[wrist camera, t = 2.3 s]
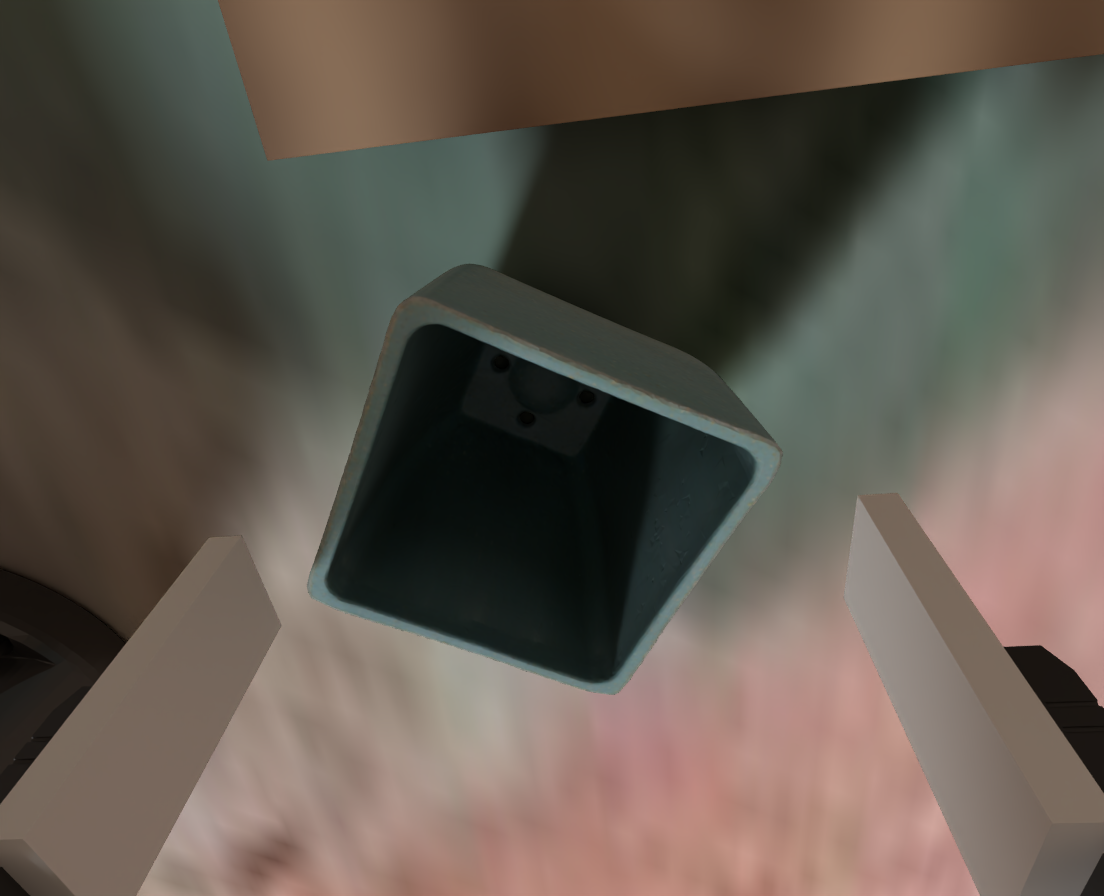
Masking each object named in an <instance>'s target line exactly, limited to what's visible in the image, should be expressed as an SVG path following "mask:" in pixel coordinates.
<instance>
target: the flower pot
mask: <svg viewBox="0 0 1104 896" xmlns="http://www.w3.org/2000/svg"><path fill="white" fill-rule="evenodd" d="M498 356H504V357H506V358H507V359H508V361H509V364H508V367H507V368H505V369H499V368H497V367H496V366H495V364H494V361H495V358H497V357H498ZM583 391H590V392H592V393H593V394H594V399H593V401H592V402H590V403H583V402H581V400H580V399H579V395H580V393H581V392H583ZM523 412H530V413H532V414H533V415H534V421H533V422H532V423H530V424H525V423H523V422H521V420H520V418H519V416H520V414H521V413H523ZM782 456H783V451H782V450H781V448H780V447H779V446H778V445H777V443H776V442H775V441H774V439H773V438H772V437H771V436H770V435H769V434H768V432H767V431H766V430H765V429H764V427H763V426H762V425H761V424H760V423H759V421H758V420H757V419H756V418H755V417H754V416H753V414H752V413H751V412H750V411H749V410H748V409H747V407H746V406H745V405H744V404H743V403H742V401H741V400H740V399H739V398H738V397H737V396H736V394H735V393H734V392H733V391H732V390H731V389H730V388H729V386H728V385H727V384H726V383H725V382H724V381H723V380H722V379H721V378H720V377H719V376H718V375H717V374H716V373H715V372H714V371H713V370H712V369H711V368H709V367H708V366H707V365H705V364H704V363H702V362H701V361H699V360H698V359H696V358H695V357H693V356H691V355H689V354H687V353H685V352H683V351H681V350H679V349H677V348H675V347H672V346H670V345H667V344H665V343H662V342H660V341H658V340H655V339H653V338H650V337H648V336H645V335H643V334H641V333H638V332H636V331H633V330H631V329H629V328H626V327H624V326H622V325H619V324H617V323H614V322H612V321H610V320H607V319H605V318H603V317H600V316H598V315H596V314H593V313H591V312H589V311H586V310H584V309H582V308H579V307H577V306H575V305H572V304H570V303H568V302H566V301H563V300H561V299H559V298H556V297H554V296H552V295H550V294H547V293H545V292H543V291H540V290H538V289H536V288H533V287H531V286H529V285H527V284H524V283H522V282H520V281H518V280H515V279H513V278H511V277H509V276H506V275H504V274H502V273H500V272H498V271H495V270H493V269H491V268H488V267H484V266H481V265H475V264H464V265H460V266H457V267H454V268H452V269H450V270H448V271H447V272H445V273H443V274H442V275H440V276H439V277H438V278H436V279H435V280H433V281H432V282H430V283H429V284H427V285H426V286H424V287H423V288H422V289H420V290H419V291H417V292H416V293H414V294H413V295H411V296H410V297H409V298H407V299H406V300H404V301H403V302H402V303H401V304H399V306H398V307H397V308H396V310H395V312H394V314H393V316H392V318H391V320H390V323H389V326H388V329H387V332H386V336H385V340H384V344H383V348H382V351H381V353H380V356H379V360H378V363H377V367H376V370H375V374H374V377H373V380H372V383H371V386H370V388H369V394H368V397H367V400H366V403H365V405H364V409H363V412H362V416H361V419H360V423H359V426H358V428H357V431H356V434H355V438H354V441H353V445H352V448H351V452H350V454H349V457H348V461H347V463H346V466H345V469H344V473H343V476H342V478H341V481H340V485H339V488H338V491H337V495H336V498H335V501H334V504H333V506H332V510H331V512H330V516H329V519H328V522H327V525H326V528H325V531H324V534H323V538H322V540H321V543H320V546H319V549H318V552H317V554H316V557H315V561H314V564H313V566H312V569H311V571H310V575H309V579H308V585H307V587H308V593H309V594H310V596H311V598H313V599H314V600H317V601H319V602H321V603H323V604H325V605H327V606H329V607H332V608H333V609H335V610H339V611H341V612H344V613H345V614H350V615H352V616H356V617H359V618H363V619H365V620H370V621H372V622H374V623H379V624H382V625H385V626H389V627H392V628H395V629H399V630H401V631H406V632H409V633H412V634H416V635H417V636H423V637H425V638H427V639H432V640H435V641H438V642H440V643H444V644H446V645H450V646H454V647H456V648H459V649H462V650H466V651H468V652H472V653H476V654H479V655H482V656H485V657H487V658H490V659H493V660H495V661H499V662H503V663H505V664H508V665H510V666H514V667H516V668H519V669H521V670H523V671H526V672H531V673H534V674H538V675H540V676H543V677H545V678H548V679H552V680H555V681H558V682H560V683H563V684H567V685H570V686H573V687H576V688H579V689H582V690H585V691H589V692H594V693H601V694H609V695H615V694H617V693H619V692H620V691H621V690H622V689H623V687H624V686H625V685H626V684H627V683H628V682H629V680H631V678H632V676H633V674H634V673H635V671H636V670H637V669H638V667H639V666H640V665H641V664H642V662H643V660H644V658H645V657H646V656H647V654H648V653H649V652H650V650H651V649H652V647H653V646H654V644H655V643H656V641H657V639H658V637H659V636H660V635H661V634H662V632H663V630H664V629H665V627H666V625H667V624H668V623H669V622H670V620H671V619H672V617H673V616H674V615H675V613H676V612H677V610H678V609H679V607H680V606H681V604H682V603H683V601H684V600H685V599H686V598H687V597H688V595H689V593H690V592H691V590H692V589H693V588H694V587H695V585H696V584H697V582H698V581H699V579H700V578H701V576H702V575H703V574H704V573H705V571H706V569H707V568H708V567H709V565H710V564H711V562H712V561H713V560H714V558H715V557H716V555H717V554H718V553H719V551H720V549H721V548H722V547H723V545H724V544H725V542H726V541H727V540H728V539H729V537H730V536H731V535H732V533H733V532H734V530H735V529H736V527H737V526H738V525H739V523H740V522H741V521H742V520H743V518H744V517H745V515H746V514H747V513H748V511H749V510H750V509H751V507H752V506H753V505H754V504H755V503H756V501H757V500H758V498H759V497H760V495H761V494H762V493H763V492H764V491H765V490H766V489H767V487H768V486H769V484H770V483H771V482H772V480H773V478H774V476H775V474H776V473H777V471H778V469H779V467H780V464H781V458H782Z"/></svg>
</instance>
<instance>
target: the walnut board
mask: <svg viewBox="0 0 1104 896" xmlns="http://www.w3.org/2000/svg"><path fill="white" fill-rule="evenodd" d="M218 2H219V5H220V8H221V12H222V15H223V18H224V21H225V25H226V28H227V31H228V34H229V38H230V41H231V44H232V47H233V50H234V54H235V57H236V60H237V63H238V67H239V70H240V73H241V76H242V80H243V83H244V86H245V89H246V92H247V96H248V99H249V102H250V105H251V109H252V112H253V115H254V118H255V122H256V125H257V128H258V131H259V135H260V138H261V141H262V144H263V147H264V151H265V154H266V157H267V160H268V161H269V160H277V159H284V158H292V157H300V156H308V155H316V154H324V153H331V152H339V151H347V150H355V149H363V148H371V147H378V146H386V145H394V144H402V143H410V142H418V141H425V140H433V139H441V138H449V137H457V136H465V135H472V134H480V133H488V132H496V131H504V130H512V129H519V128H527V127H535V126H543V125H551V124H559V123H566V122H574V121H582V120H590V119H598V118H606V117H613V116H621V115H629V114H637V113H645V112H653V111H660V110H668V109H676V108H684V107H692V106H700V105H707V104H715V103H723V102H731V101H739V100H747V99H754V98H762V97H770V96H778V95H786V94H794V93H801V92H809V91H817V90H825V89H833V88H841V87H848V86H856V85H864V84H872V83H880V82H888V81H895V80H903V79H911V78H919V77H927V76H935V75H942V74H950V73H958V72H966V71H974V70H982V69H989V68H997V67H1005V66H1013V65H1021V64H1029V63H1036V62H1044V61H1052V60H1060V59H1068V58H1076V57H1083V56H1091V55H1099V54H1104V0H218Z"/></svg>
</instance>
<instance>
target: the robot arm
mask: <svg viewBox="0 0 1104 896" xmlns="http://www.w3.org/2000/svg"><path fill="white" fill-rule="evenodd" d="M844 599H845V601H846V604H847V606H848V608H849V610H850V612H851V614H852V617H853V619H854V621H855V623H856V625H857V628H858V630H859V632H860V634H861V636H862V639H863V641H864V643H865V645H866V647H867V649H868V652H869V654H870V656H871V658H872V660H873V663H874V665H875V667H876V669H877V671H878V673H879V676H880V678H881V680H882V682H883V684H884V687H885V689H886V691H887V693H888V695H889V697H890V700H891V702H892V704H893V706H894V708H895V711H896V713H897V715H898V717H899V719H900V722H901V724H902V726H903V728H904V730H905V732H906V735H907V737H908V739H909V741H910V743H911V746H912V748H913V750H914V752H915V754H916V756H917V759H918V761H919V763H920V765H921V767H922V770H923V772H924V774H925V776H926V778H927V780H928V783H929V785H930V787H931V789H932V791H933V794H934V796H935V798H936V800H937V802H938V805H939V807H940V809H941V811H942V813H943V815H944V818H945V820H946V822H947V824H948V826H949V829H950V831H951V833H952V835H953V837H954V839H955V842H956V844H957V846H958V848H959V850H960V853H961V855H962V857H963V859H964V861H965V863H966V866H967V868H968V870H969V872H970V874H971V877H972V879H973V881H974V883H975V885H976V888H977V890H978V892H979V894H980V896H1104V708H1103V707H1102V706H1099V705H1098V703H1097V699H1096V698H1095V696H1094V695H1093V694H1092V693H1091V691H1090V690H1089V689H1088V687H1087V686H1086V685H1085V684H1084V682H1083V681H1082V680H1081V678H1080V677H1079V676H1078V675H1077V673H1076V672H1075V671H1074V670H1073V669H1072V668H1070V667H1069V666H1068V665H1066V664H1065V663H1064V662H1062V661H1061V660H1060V659H1058V658H1057V657H1056V656H1054V655H1053V654H1052V653H1050V652H1049V651H1048V650H1046V649H1045V648H1044V647H1042V646H1041V645H1039V646H1015V647H1003V646H1002V644H1001V643H1000V641H999V640H998V638H997V637H996V636H995V634H994V633H993V631H992V630H991V628H990V627H989V625H988V624H987V622H986V621H985V620H984V618H983V617H982V615H981V614H980V612H979V611H978V609H977V608H976V606H975V605H974V604H973V602H972V601H971V599H970V598H969V596H968V595H967V593H966V592H965V590H964V589H963V587H962V586H961V585H960V583H959V582H958V580H957V579H956V577H955V576H954V574H953V573H952V571H951V570H950V569H949V567H948V566H947V564H946V563H945V561H944V560H943V558H942V557H941V555H940V554H939V553H938V551H937V550H936V548H935V547H934V545H933V544H932V542H931V541H930V539H929V538H928V537H927V535H926V534H925V532H924V531H923V529H922V528H921V526H920V525H919V523H918V522H917V520H916V519H915V518H914V516H913V515H912V513H911V512H910V510H909V509H908V507H907V506H906V504H905V503H904V502H903V500H902V499H901V497H900V496H899V494H898V493H888V494H873V495H858V497H857V504H856V512H855V519H854V526H853V533H852V541H851V548H850V555H849V562H848V570H847V577H846V584H845V591H844ZM280 627H281V623H280V621H279V619H278V616H277V614H276V612H275V610H274V607H273V605H272V603H271V601H270V598H269V596H268V594H267V592H266V589H265V587H264V585H263V583H262V580H261V578H260V576H259V574H258V571H257V569H256V567H255V565H254V562H253V560H252V558H251V556H250V553H249V551H248V549H247V547H246V544H245V542H244V540H243V538H242V535H240V536H224V537H209V538H208V539H207V541H206V542H205V543H204V545H203V546H202V547H201V548H200V550H199V551H198V552H197V554H196V555H195V556H194V557H193V559H192V560H191V561H190V562H189V564H188V565H187V566H186V568H185V569H184V570H183V571H182V573H181V574H180V575H179V577H178V578H177V579H176V580H175V582H174V583H173V584H172V586H171V587H170V588H169V589H168V591H167V592H166V593H165V594H164V596H163V597H162V598H161V600H160V601H159V602H158V603H157V605H156V606H155V607H154V609H153V610H152V611H151V612H150V614H149V615H148V616H147V617H146V619H145V620H144V621H143V623H142V624H141V625H140V626H139V628H138V629H137V630H136V632H135V633H134V634H133V635H132V637H131V638H130V639H129V640H128V642H127V643H126V644H125V643H124V642H123V641H122V640H121V639H120V638H119V637H118V636H117V635H116V634H115V633H114V632H113V631H112V630H111V629H109V628H108V627H107V626H106V625H105V624H103V623H102V622H101V621H100V620H98V619H97V618H96V617H94V616H93V615H91V614H90V613H89V612H87V611H86V610H84V609H83V608H81V607H80V606H78V605H77V604H75V603H73V602H72V601H70V600H68V599H67V598H65V597H63V596H61V595H59V594H57V593H56V592H54V591H52V590H50V589H48V588H46V587H44V586H41V585H39V584H37V583H35V582H32V581H30V580H28V579H25V578H23V577H20V576H18V575H15V574H12V573H9V572H6V571H3V570H0V896H136V895H137V893H138V891H139V889H140V887H141V886H142V884H143V882H144V880H145V878H146V876H147V874H148V873H149V871H150V869H151V867H152V865H153V863H154V861H155V860H156V858H157V856H158V854H159V852H160V850H161V848H162V847H163V845H164V843H165V841H166V839H167V837H168V835H169V834H170V832H171V830H172V828H173V826H174V824H175V822H176V821H177V819H178V817H179V815H180V813H181V811H182V809H183V808H184V806H185V804H186V802H187V800H188V798H189V796H190V795H191V793H192V791H193V789H194V787H195V785H196V783H197V782H198V780H199V778H200V776H201V774H202V772H203V770H204V769H205V767H206V765H207V763H208V761H209V759H210V757H211V755H212V754H213V752H214V750H215V748H216V746H217V744H218V742H219V741H220V739H221V737H222V735H223V733H224V731H225V729H226V728H227V726H228V724H229V722H230V720H231V718H232V716H233V715H234V713H235V711H236V709H237V707H238V705H239V703H240V702H241V700H242V698H243V696H244V694H245V692H246V690H247V689H248V687H249V685H250V683H251V681H252V679H253V677H254V676H255V674H256V672H257V670H258V668H259V666H260V664H261V663H262V661H263V659H264V657H265V655H266V653H267V651H268V650H269V648H270V646H271V644H272V642H273V640H274V638H275V636H276V635H277V633H278V631H279V629H280Z"/></svg>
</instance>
